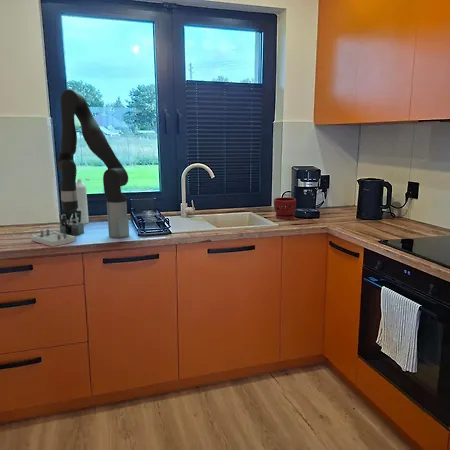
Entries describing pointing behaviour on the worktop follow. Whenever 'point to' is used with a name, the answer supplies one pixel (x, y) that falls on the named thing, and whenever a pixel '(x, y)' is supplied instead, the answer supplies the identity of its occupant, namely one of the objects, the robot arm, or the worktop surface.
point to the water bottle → (82, 200)
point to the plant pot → (280, 207)
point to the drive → (73, 229)
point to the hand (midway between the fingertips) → (72, 232)
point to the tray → (53, 238)
